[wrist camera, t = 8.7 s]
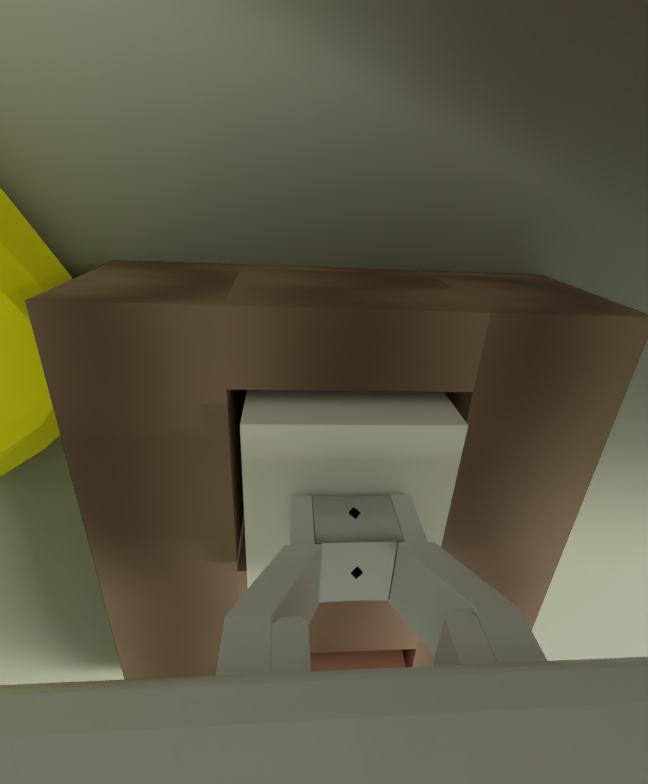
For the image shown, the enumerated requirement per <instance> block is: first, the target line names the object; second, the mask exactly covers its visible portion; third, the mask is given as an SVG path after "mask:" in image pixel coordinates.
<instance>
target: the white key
mask: <svg viewBox="0 0 648 784" xmlns="http://www.w3.org/2000/svg"><path fill="white" fill-rule="evenodd" d="M467 429H468V424H467V423H466V422H465V420H464V419H463V417H462V416H461V415H460V413H459V412H458V411H457V409H456V408H455V406H454V405H453V404H452V402H451V401H450V399H449V398H448V397H447V395H446V394H445V393H444V392H416V391H325V390H247V393H246V398H245V402H244V407H243V412H242V417H241V422H240V437H241V458H242V480H243V501H244V523H245V544H246V565H247V587H248V588H249V587H250V586H251V585H252V583H253V582H254V581H255V580H256V579H257V577H258V576H259V575H260V574H261V573H262V571H263V570H264V569H265V568H266V567H267V565H268V564H269V563H270V562H271V561H272V559H273V558H274V557H275V556H276V555H277V553H278V552H279V551H280V550H281V549H282V547H283V546H284V545H290V512H291V496H311V497H312V495H321V496H380V495H387V496H388V495H400V494H408V495H409V496H410V497H411V499H412V502H413V504H414V507H415V509H416V512H417V515H418V517H419V520H420V522H421V525H422V527H423V530H424V533H425V535H426V538H427V540H428V542H435V543H436V544H437V545H439V546H440V547H441V545H442V540H443V536H444V531H445V527H446V522H447V518H448V513H449V509H450V505H451V500H452V496H453V491H454V487H455V482H456V478H457V473H458V469H459V465H460V460H461V456H462V451H463V447H464V442H465V438H466V433H467Z"/></svg>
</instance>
